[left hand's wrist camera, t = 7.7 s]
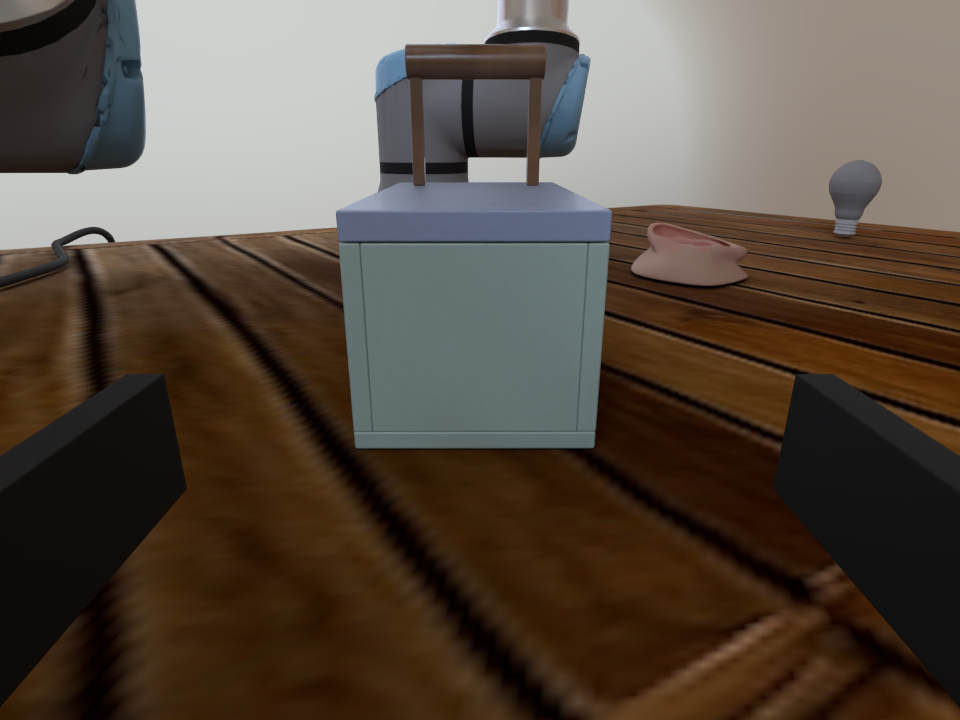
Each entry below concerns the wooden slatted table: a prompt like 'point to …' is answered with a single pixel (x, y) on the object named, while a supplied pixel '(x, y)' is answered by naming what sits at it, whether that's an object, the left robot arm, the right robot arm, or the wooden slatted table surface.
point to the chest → (474, 342)
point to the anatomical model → (689, 257)
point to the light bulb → (853, 193)
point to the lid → (474, 205)
